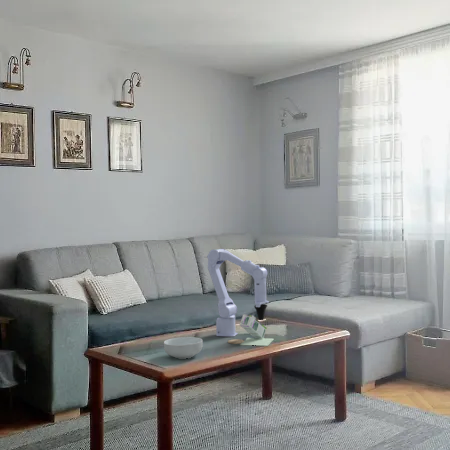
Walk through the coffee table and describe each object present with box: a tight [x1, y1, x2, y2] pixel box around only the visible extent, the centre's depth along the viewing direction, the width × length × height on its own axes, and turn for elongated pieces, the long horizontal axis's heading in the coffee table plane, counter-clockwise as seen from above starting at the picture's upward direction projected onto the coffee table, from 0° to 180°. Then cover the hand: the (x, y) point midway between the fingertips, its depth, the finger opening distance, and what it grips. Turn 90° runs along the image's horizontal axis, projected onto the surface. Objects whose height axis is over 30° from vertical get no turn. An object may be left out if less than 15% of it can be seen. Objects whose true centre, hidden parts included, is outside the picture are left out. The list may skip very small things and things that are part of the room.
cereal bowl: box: [163, 336, 204, 360], centre depth 249 cm, size 17×17×7 cm
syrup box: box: [239, 313, 267, 338], centre depth 281 cm, size 6×6×14 cm
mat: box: [239, 337, 275, 347], centre depth 276 cm, size 13×16×1 cm
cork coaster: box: [227, 338, 245, 345], centre depth 277 cm, size 8×8×1 cm
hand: (261, 319), depth 286 cm, fingers closed
